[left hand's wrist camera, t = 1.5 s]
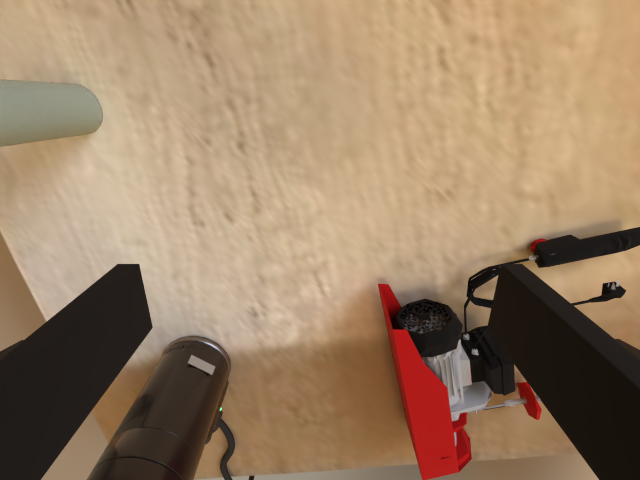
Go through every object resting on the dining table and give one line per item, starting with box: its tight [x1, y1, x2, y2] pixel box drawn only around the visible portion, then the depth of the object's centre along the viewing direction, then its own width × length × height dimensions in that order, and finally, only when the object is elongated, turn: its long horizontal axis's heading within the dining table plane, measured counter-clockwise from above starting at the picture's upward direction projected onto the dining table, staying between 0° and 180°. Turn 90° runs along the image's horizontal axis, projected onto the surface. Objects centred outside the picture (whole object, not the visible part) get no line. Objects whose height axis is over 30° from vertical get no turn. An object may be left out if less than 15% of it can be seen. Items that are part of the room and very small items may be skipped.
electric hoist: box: [378, 227, 640, 480], centre depth 43 cm, size 10×27×30 cm
